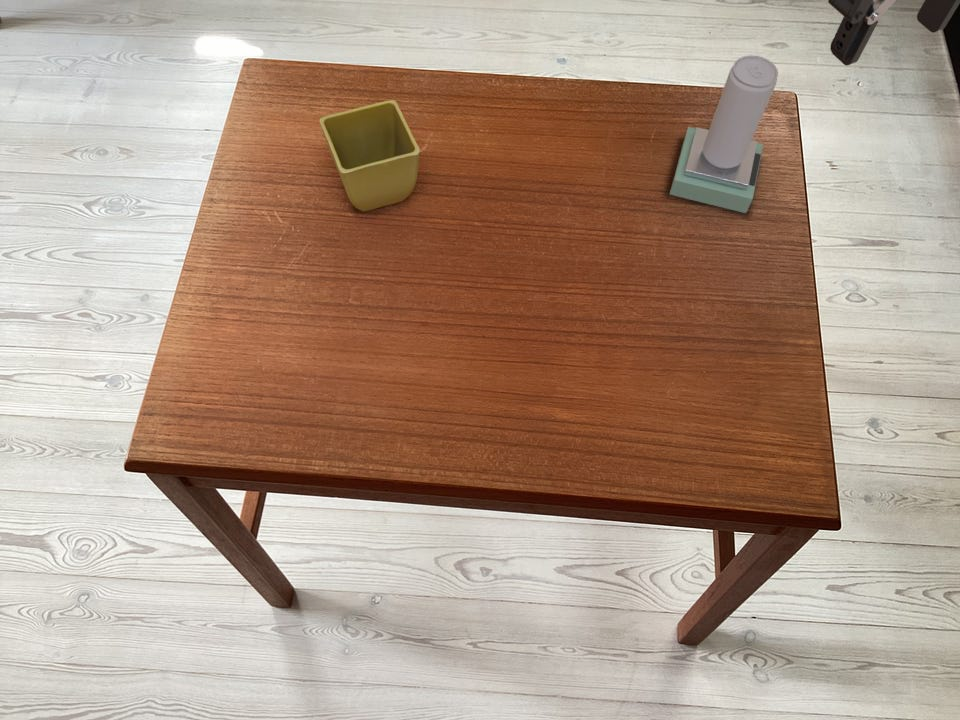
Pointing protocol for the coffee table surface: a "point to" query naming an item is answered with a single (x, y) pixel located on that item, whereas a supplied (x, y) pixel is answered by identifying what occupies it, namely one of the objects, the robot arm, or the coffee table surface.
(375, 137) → the flower pot
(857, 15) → the robot arm
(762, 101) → the beverage can
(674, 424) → the coffee table surface
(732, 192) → the scale
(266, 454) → the coffee table surface
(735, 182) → the scale pan
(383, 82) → the coffee table surface
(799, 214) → the coffee table surface
